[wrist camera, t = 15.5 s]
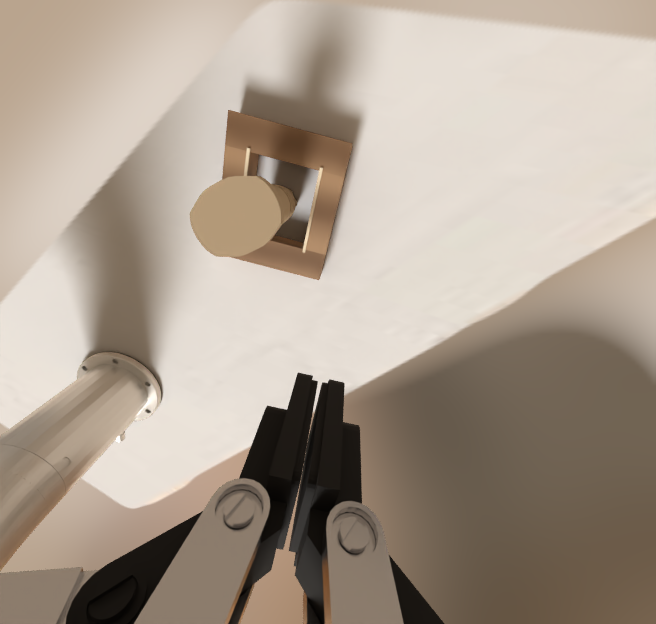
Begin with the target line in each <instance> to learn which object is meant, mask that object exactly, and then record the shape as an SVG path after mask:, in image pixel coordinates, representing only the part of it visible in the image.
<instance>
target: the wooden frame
mask: <svg viewBox="0 0 656 624" xmlns="http://www.w3.org/2000/svg"><path fill="white" fill-rule="evenodd" d="M351 151H352V143H348V142H345V141H341V140H337V139H334V138H330V137H326V136H323V135H319V134H315V133H312V132H308V131H304V130H301V129H297V128H293V127H290V126H286V125H282V124H279V123H275V122H271V121H268V120H264V119H260V118H257V117H253V116H249V115H246V114H242V113H238V112H235V111H231V110H228V119H227V131H226V142H225V154H224V166H223V177H222V180H223V179H225V178H227V177H233V176H256V174H257V166H258V158H259V155H263V156H267V157H270V158H274V159H278V160H282V161H285V162H289V163H293V164H296V165H300V166H304V167H308V168H311V169H315V170H319V174H318V179H317V184H316V189H315V194H314V198H313V203H312V208H311V213H310V217H309V222H308V227H307V232H306V236H305V241H304V243H303V242H299V241H295V240H291V239H288V238H284V237H280V236H276V235H274V236H273V238H272V239H271V240H270V241H269V242H268V243H267V244H265V245H264V246H262V247H260V248H258V249H256V250H254V251H252V252H250V253H248V254H246V255H243V256H238V257H232V258H236V259H240V260H243V261H247V262H251V263H255V264H259V265H263V266H267V267H270V268H274V269H278V270H282V271H286V272H290V273H293V274H297V275H301V276H305V277H309V278H313V279H317V280H319V279H320V276H321V273H322V269H323V265H324V261H325V257H326V253H327V249H328V245H329V241H330V236H331V232H332V228H333V224H334V220H335V216H336V212H337V208H338V204H339V200H340V196H341V191H342V187H343V183H344V179H345V175H346V171H347V167H348V163H349V159H350V155H351Z"/></svg>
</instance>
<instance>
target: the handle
mask: <svg viewBox="0 0 656 624" xmlns="http://www.w3.org/2000/svg"><path fill="white" fill-rule="evenodd" d="M295 206H297V200H295V198H294V196H293V192H292V191H291V190H290V189H289V188H285V187H283V186H280V185H275V184H270V183H269V182H268V181H267V180H265V179H264V178H262V177H261V176H233V177H227V178H225V179H223V180H221V181H219V182H217V183H215V184H214V185H212V186H210V187H209V188H207V189H206V190H205V191H203V193H202V194H201V195H200V196H199V198H198V200H197V201H196V203H195V205H194V207H193V208H192V210H191V212H190V221H191V226H192V229H193V231H194V233H195V235H196V237H197V239H198V240H199V242H200V243H201V244H202V246H203V247H204V248H205V249H206V250H207V251H209V252H210V253H211V254H213V255H215V256H219V257H238V256H243V255H246V254H248V253H250V252H252V251H254V250H256V249H258V248H260V247H262V246H264V245H265V244H267V243H268V242H269V241H270V240H271V239H272V238H273V236H274V235H275V234H276V232H277V231H278V230H279V228H280V227H281V225H282V224H283V223H285V222H286V221H287V220H288V219H289V218H290V217H291V216H292V214H293V213H294V210H295Z"/></svg>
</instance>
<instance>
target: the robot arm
mask: <svg viewBox="0 0 656 624" xmlns="http://www.w3.org/2000/svg"><path fill="white" fill-rule="evenodd" d="M312 377H313V376H311V375H306V374H302V373H298V374H297V377H296V381H295V385H294V388H293V392H292V395H291V399H290V402H289V406H288V409H287V410H285V409H280V408H276V407H271V406H267V407H266V409H265V412H264V414H263V417H262V420H261V422H260V425H259V428H258V430H257V433H256V435H255V438H254V441H253V443H252V446H251V449H250V451H249V454H248V457H247V459H246V462H245V465H244V467H243V470H242V472H241V475H240V478H239V479H234V480H232V481H229V482H227V483H225V484H224V485H222V486H221V487H220V488H219V489H218V490H217V491H216V492H215V494H214V495H213V496H212V498H211V499H210V501H209V502H208V504H207V506H206V507H205V509H204V511H202V512H201V513H199V514H197V515H195V516H193V517H192V518H190V519H188V520H186V521H184V522H183V523H181V524H179V525H177V526H175V527H174V528H172V529H170V530H168V531H167V532H165V533H163V534H161V535H159V536H158V537H156V538H154V539H152V540H150V541H149V542H147V543H145V544H143V545H141V546H140V547H138V548H136V549H134V550H133V551H131V552H129V553H127V554H125V555H123V556H122V557H120V558H118V559H116V560H114V561H113V562H111V563H109V564H107V565H106V566H104V567H103V568H102V569H100V570H95V571H83V568H82V567H77V568H64V569H51V570H37V571H23V572H9V573H0V624H240V623H241V620H242V618H243V615H244V612H245V609H246V607H247V604H248V601H249V599H250V596H251V593H252V591H253V588H254V584H255V582H257V581H258V580H259V579H260V578H262V577H263V576H264V575H265V574H267V573H268V572H269V571H270V570H271V568H272V564H273V560H274V556H275V551H276V548H277V549H283V547H284V544H285V540H286V536H287V532H288V528H289V524H290V520H291V516H292V512H293V508H294V505H295V501H296V497H297V492H298V489H299V484H300V480H301V484H300V489H299V495H298V501H297V507H296V512H295V518H294V524H293V530H292V535H291V541H290V547H289V551H292V552H296V555H295V561H294V566H296V572H295V576H296V577H297V579H298V581H299V583H300V584H301V586H302V588H303V590H304V593H303V624H444V623H443V621H442V620H441V619H440V618H439V616H438V615H437V614H436V613H435V611H434V610H433V609H432V608H431V607H430V606H429V604H428V603H427V602H426V600H425V599H424V598H423V597H422V595H421V594H420V593H419V592H418V590H416V588H415V587H414V585H413V584H412V583H411V582H410V580H409V579H408V578H407V577H406V575H405V574H404V573H403V572H402V571H401V569H400V568H399V567H398V565H396V563H395V562H394V561H393V559H392V558H391V557H390V556H389V554H388V549H387V545H386V540H385V535H384V531H383V528H382V526H381V523H380V521H379V519H378V518H377V516H376V515H375V514H374V513H373V512H372V511H371V510H370V509H369V508H368V507H367V506H365V505H363V504H362V495H361V494H362V492H361V454H360V427H359V426H358V425H354V424H349V423H345V422H343V406H344V383H343V382H338V381H334V380H329V381H328V383H322V386H321V390H320V394H319V398H318V402H317V406H316V410H315V414H314V418H313V422H312V426H311V430H310V434H309V429H310V424H311V418H312V412H313V406H314V401H315V395H316V389H317V383H318V381H314V380H312ZM160 401H161V391H160V387H159V385H158V382H157V380H156V379H155V377H154V376H153V374H152V373H151V372H150V371H149V370H148V369H147V368H146V367H145V366H143V365H142V364H141V363H139V362H138V361H136V360H134V359H133V358H130V357H128V356H126V355H122V354H119V353H113V352H101V353H97V354H94V355H92V356H90V357H89V358H88V359H86V360H85V361H83V362H82V364H81V365H80V366H79V369H78V371H77V380H76V381H75V382H73V383H72V384H70V385H69V386H68V387H66V388H65V389H64V390H62V391H61V392H60V393H58V394H57V395H55V396H54V397H53V398H51V399H50V400H49V401H47V402H46V403H44V404H43V405H42V406H40V407H39V408H38V409H36V410H35V411H34V412H32V413H31V414H29V415H28V416H27V417H25V418H24V419H23V420H21V421H20V422H18V423H17V424H16V425H14V426H13V427H12V428H10V429H9V430H8V431H6V432H5V433H3V434H2V435H1V436H0V571H1V570H2V568H3V567H4V566H5V565H6V563H7V562H8V561H9V559H10V558H11V557H12V556H13V554H14V553H15V552H16V551H17V549H18V548H19V547H20V546H21V545H22V543H23V542H24V541H25V540H26V539H27V537H28V536H29V535H30V534H31V533H32V532H33V530H34V529H35V528H36V527H37V526H38V525H39V524H40V523H41V521H42V520H43V519H44V518H45V517H46V516H47V515H48V514H49V512H50V511H51V510H52V509H53V508H54V507H55V506H56V505H57V504H58V502H59V501H60V500H61V499H62V498H63V497H64V496H65V495H66V494H67V492H68V491H69V490H70V489H71V488H72V487H73V486H74V485H75V484H76V483H77V482H78V480H79V479H80V478H81V477H82V476H83V475H84V474H85V473H86V472H87V471H88V469H89V468H90V467H91V466H92V465H93V464H94V463H95V462H96V461H97V460H98V458H99V457H100V456H101V455H102V454H103V453H104V452H105V451H106V450H107V449H108V447H109V446H110V445H111V444H112V443H113V442H114V441H117V442H120V441H123V440H124V439H125V430H126V429H127V428H128V427H129V425H130V424H131V423H132V422H133V421H140V420H144V419H146V418H148V417H150V416H151V415H152V414H153V413H154V412H155V411H156V410H157V408H158V406H159V405H160ZM308 435H309V438H308ZM307 441H308V443H307ZM306 447H307V448H306ZM305 452H306V454H305ZM304 458H305V460H304ZM303 464H304V466H303ZM302 470H303V472H302ZM301 475H302V477H301Z"/></svg>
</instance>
